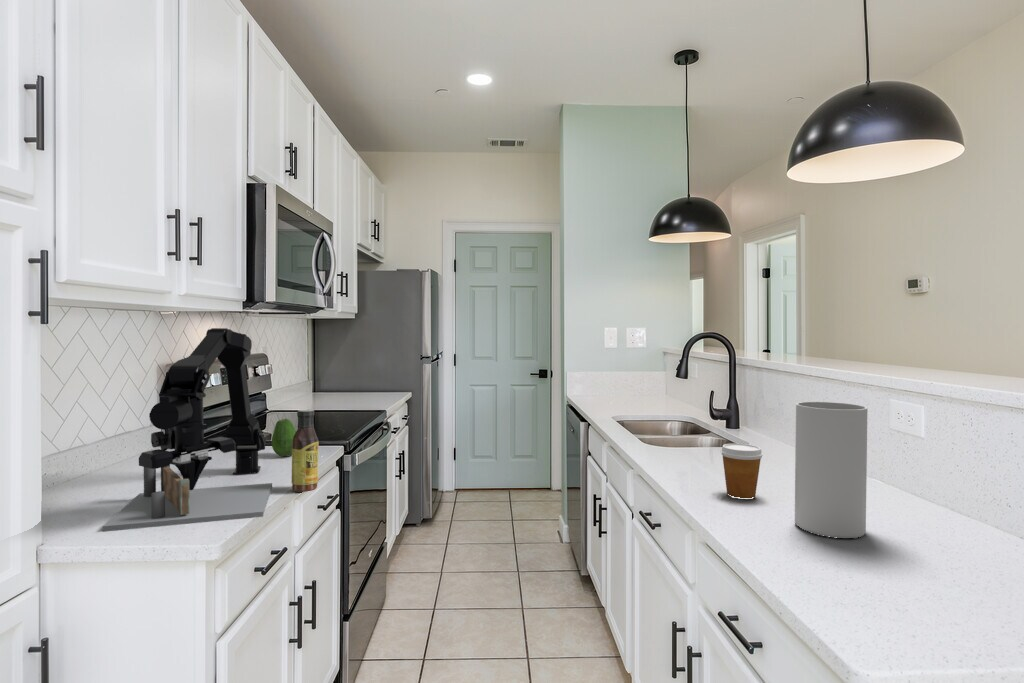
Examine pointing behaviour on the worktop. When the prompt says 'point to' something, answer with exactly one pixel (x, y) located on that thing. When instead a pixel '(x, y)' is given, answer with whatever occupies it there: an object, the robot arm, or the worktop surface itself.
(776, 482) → the worktop surface
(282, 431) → the avocado
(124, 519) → the gate frame
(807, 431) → the cylinder vase
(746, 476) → the disposable coffee cup
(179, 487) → the gate
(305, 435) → the sauce bottle
